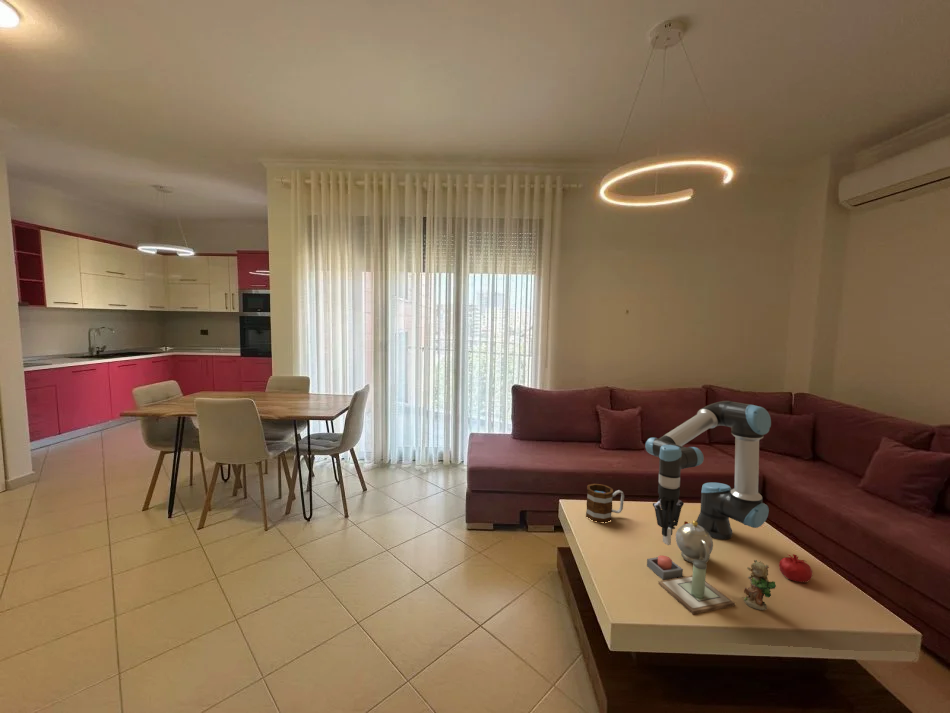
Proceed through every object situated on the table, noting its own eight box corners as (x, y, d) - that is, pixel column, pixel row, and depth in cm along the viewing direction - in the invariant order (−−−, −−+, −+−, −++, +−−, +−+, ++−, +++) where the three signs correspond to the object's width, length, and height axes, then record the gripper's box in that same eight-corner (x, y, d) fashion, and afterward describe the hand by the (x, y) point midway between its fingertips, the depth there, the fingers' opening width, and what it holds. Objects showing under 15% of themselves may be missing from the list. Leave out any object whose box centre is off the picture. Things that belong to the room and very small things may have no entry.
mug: (590, 524, 188) (592, 494, 187) (581, 511, 201) (582, 483, 200) (629, 523, 189) (630, 494, 189) (616, 510, 203) (618, 483, 202)
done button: (664, 564, 154) (665, 554, 154) (674, 571, 149) (674, 561, 149) (654, 565, 153) (655, 556, 153) (663, 573, 148) (664, 563, 148)
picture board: (697, 577, 148) (697, 573, 148) (734, 605, 133) (735, 602, 133) (658, 583, 143) (658, 580, 143) (692, 614, 128) (692, 610, 128)
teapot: (667, 548, 168) (670, 512, 167) (699, 549, 168) (701, 513, 167) (690, 573, 150) (692, 533, 149) (725, 575, 150) (727, 534, 149)
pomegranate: (816, 589, 143) (818, 565, 142) (783, 582, 146) (786, 559, 146) (804, 573, 152) (806, 551, 151) (773, 566, 156) (776, 545, 155)
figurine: (737, 597, 137) (740, 557, 136) (757, 596, 138) (760, 556, 137) (758, 616, 128) (761, 573, 127) (779, 615, 129) (782, 572, 128)
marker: (697, 590, 138) (699, 558, 137) (707, 598, 134) (709, 565, 133) (688, 592, 137) (690, 560, 136) (697, 600, 133) (700, 567, 132)
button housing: (665, 563, 157) (665, 556, 157) (682, 576, 148) (682, 569, 148) (646, 566, 154) (647, 558, 154) (663, 580, 146) (663, 572, 146)
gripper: (675, 480, 154) (673, 535, 156) (648, 483, 151) (646, 540, 153) (690, 487, 147) (687, 546, 149) (662, 490, 144) (659, 550, 145)
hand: (666, 543), depth 151 cm, fingers closed
